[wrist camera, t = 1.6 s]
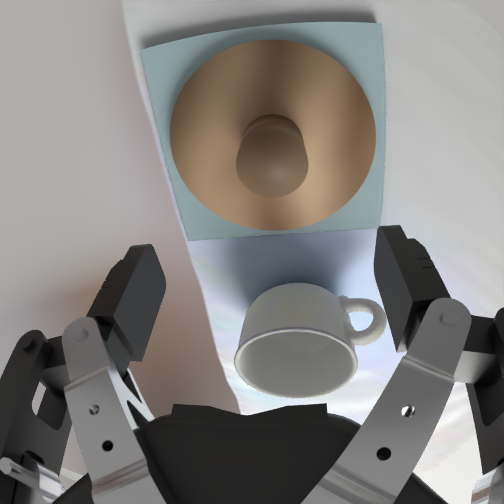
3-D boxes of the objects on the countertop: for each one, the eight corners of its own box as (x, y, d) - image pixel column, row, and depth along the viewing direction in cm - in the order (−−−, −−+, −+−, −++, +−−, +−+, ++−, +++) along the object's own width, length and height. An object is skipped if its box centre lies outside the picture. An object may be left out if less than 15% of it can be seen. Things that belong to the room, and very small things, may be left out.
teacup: (270, 346, 37) (267, 406, 31) (222, 285, 32) (208, 353, 25) (385, 312, 32) (401, 374, 26) (361, 236, 27) (382, 304, 21)
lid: (368, 36, 16) (393, 36, 12) (369, 217, 24) (385, 257, 21) (155, 59, 18) (124, 67, 14) (196, 230, 26) (182, 270, 22)
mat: (377, 23, 16) (381, 23, 15) (377, 221, 26) (379, 228, 25) (145, 49, 18) (139, 50, 18) (190, 234, 28) (188, 240, 27)
